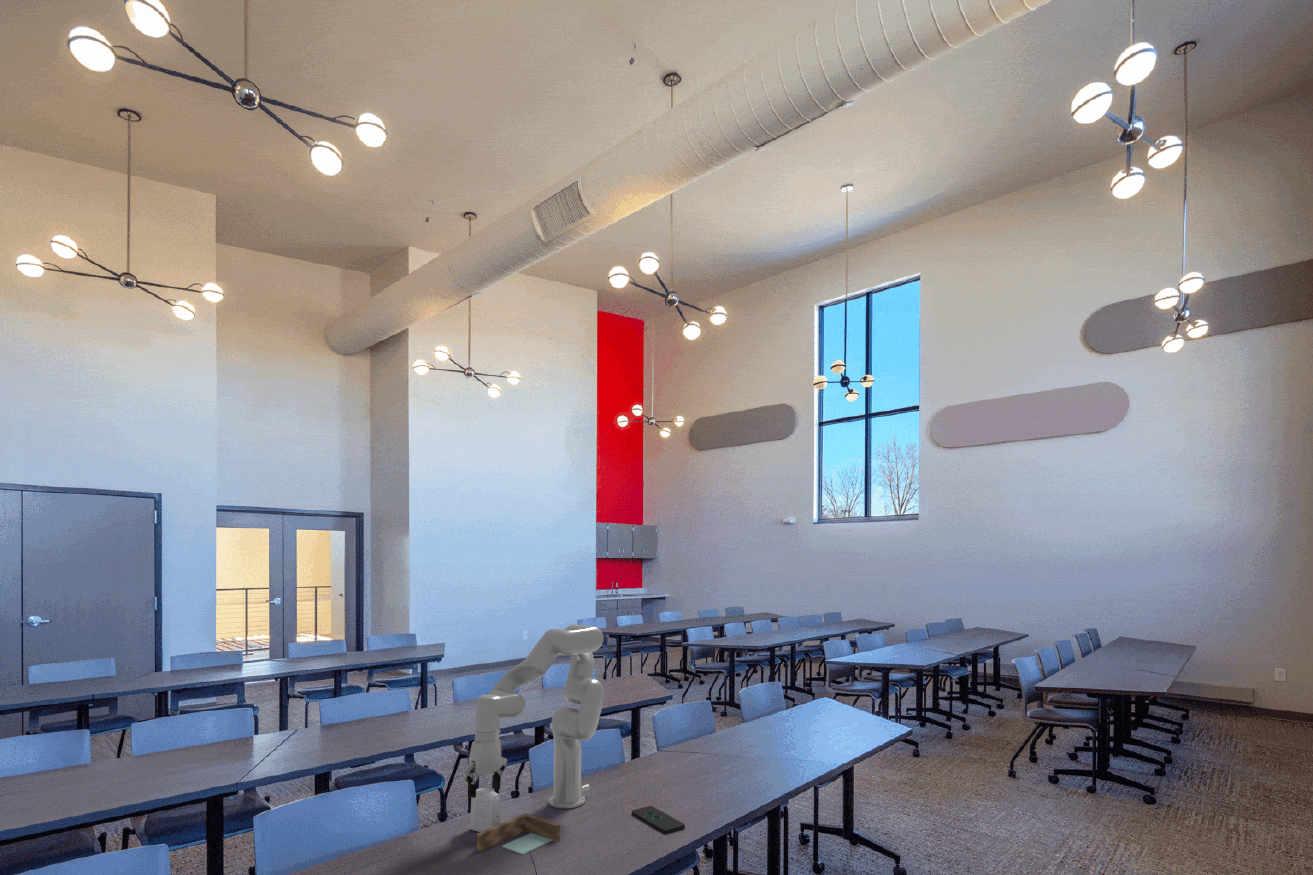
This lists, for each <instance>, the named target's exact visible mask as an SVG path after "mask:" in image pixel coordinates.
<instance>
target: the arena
mask: <svg viewBox="0 0 1313 875" xmlns="http://www.w3.org/2000/svg"><path fill="white" fill-rule="evenodd" d="M524 832H527V833H528V834H530V833H534V834H537V835H540V836H542V837H545V838H548V839H551V840H552V842H556V843H557V842H559V841H560V840H561V823H557V822H555V821H551V820H547V819H544V818H541V817H539V816H534V815H532V814H528V813H523V814H521V815H519V816H516V817H514V818H512V819H509V820H507V821H505V822H502V823H500V824H499V825H497V826H495V827H492V828H490V829H487V830H485V831H483V832H478V833H476V851H477V852H482V851H484V850H486V849H488V848H491V847H492V846H495V845H498V844H499V843H502V842H504V841H507V840H508V839H511V838H513V837H516V836H517V835H520V834H522V833H524Z"/></svg>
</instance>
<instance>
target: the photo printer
mask: <svg viewBox="0 0 1313 875" xmlns="http://www.w3.org/2000/svg"><path fill="white" fill-rule="evenodd" d="M470 799H471V800H470V820H469V821H470V822H469V823H470V824H469V828H470V830H472V831H476V832H478V833H480V832H483V831H485V830H487V829H490V828H492V827H495V826H497V825H499V824H501V810H502V809H501V806H502V805H501V803H502V802H501V801H502V800H501V795H500V794H499V793H498V792H496V791H494V790H493V789H489V788H483V787H482V788H476V797H475V798H473V797H470Z"/></svg>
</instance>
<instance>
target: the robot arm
mask: <svg viewBox="0 0 1313 875" xmlns="http://www.w3.org/2000/svg"><path fill="white" fill-rule="evenodd" d="M603 634H604V633H603V632H602V630H601V628H598V627H597V626H588V625H583V624H570V625H568V626H566V627H565V628H564V629H560V628H550V629H548V630H546V631H545V633H543V634H542V636H541V637H540V638H539V640H538V641H537V643H536V644H535V646H533V648H532V649H531V650H530V652H529V653H528V655H527V656H526V658H525V659H524V660H523V661H522V662H520V663H518V664H517V665H516V666H514V667H513V668H512V669H510V670H509V671H507V672H506V673H504V675H502V676H501V677H500V679H499V680H498V681H497V682H496V684H495V685H494V686H493V687H492V689H491V690H490V692H489V694H482V695H479V697H478V698H477V699H476V709H475V710H476V711H475V712H476V713H475V731H474V740H473V741H472V743H471V745H470V746H471V748H470V750H469V758H468V765H467V766H466V767H465V768H464V769H463V770H462V771H461V772H462V776H463V780H465V781H466V783H467V796H468V797H469V798H471V797H473V798H475V797H476V790H477V789H478V787H477V783H476V782H477V781H478V778H479V777H483V776H487V775H489V774H492V779H491V781H492V782H491V788H492V790H493V789H494V790H497V791H499V790H501V778H502V776H503V773H504V771H505V769H506V766H507V763H508V759H507V758H505V757H504V756H502V744H501V739H500V734H501V732H502V731H501V729H500V723H501V722H500V720H501V718H515V717H518V716H521V714H522V713H524V710H525V708H526V699H525V698H524V697H523V696H522V695H521V694H519V693H517V692H515V691H516V690H517V689H518V688H519V687H521V686H523V685H525V684H526V683H529V682H533V681H536V680H539V679H540V678H542V677H544V676H545V674H547V672H548V671H549V670H550V669H551V668H550V667H551V666H552V665H553V664H554V662H555V661H556V659H557V658H558V656H566V657H570V665H569V671H568V674H567V677H566V680H565V684H564V688H563V689H564V690H563V698H564V699H565V701H566V702H568V703H570V704H573V705H577V706H579V707H578V708H575V707H571V706H562V707H560V708H558V709H557V710H555V711H554V713H553V715H552V718H551V731H552V736H553V795H552V796H550V797H549V798H548V804H549V806H551V807H552V808H556V809H573V808H578V807H580V806H583V805H584V804H585V802H586V796H584V795H583V794H584V792H586V791H589V790H590V784H587V783H586V784H583V785H582V745H581V742H582V741H583V742H586V741H589V740H590V739H592V737H594V735H595V733H596V731H597V728H598V725H599V720H600V717H601V712H602V709H603V704H604V700H605V689H604V688H605V687H603V684H602V683H601V681H599V680H598V679H595V678H592V677H593V672H594V667H595V659H594V655H593V653H594V652H596V651H598V650H599V649H600V648H601V647H602V645H603V643H604V635H603Z"/></svg>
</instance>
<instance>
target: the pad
mask: <svg viewBox="0 0 1313 875" xmlns="http://www.w3.org/2000/svg"><path fill="white" fill-rule="evenodd" d="M550 842H553V840H551V839H548V838H545V837H542V836H540V835H537V834H534V833H527V834H526V835H524V836H521V837H519V838H517V839H514V840H513V841H510V842H508V843H505V844H503V845H502V846H501V848H503V849H505V850H509V851H512V852H514V853H516V854H519V855H523V856H524V855H526V854H527V853H530V852H532V851H533V850H536V849H538V848H540V847H542V846H544V845H547V844H549V843H550Z"/></svg>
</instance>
